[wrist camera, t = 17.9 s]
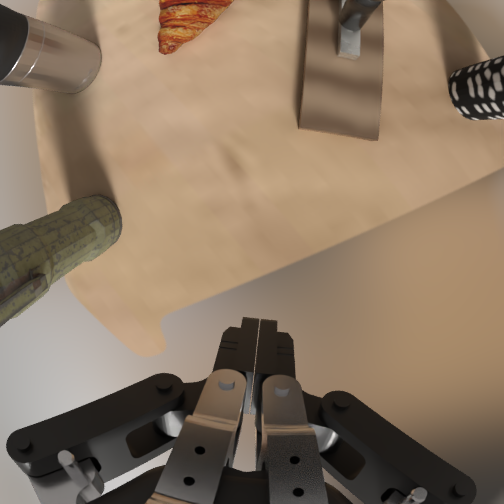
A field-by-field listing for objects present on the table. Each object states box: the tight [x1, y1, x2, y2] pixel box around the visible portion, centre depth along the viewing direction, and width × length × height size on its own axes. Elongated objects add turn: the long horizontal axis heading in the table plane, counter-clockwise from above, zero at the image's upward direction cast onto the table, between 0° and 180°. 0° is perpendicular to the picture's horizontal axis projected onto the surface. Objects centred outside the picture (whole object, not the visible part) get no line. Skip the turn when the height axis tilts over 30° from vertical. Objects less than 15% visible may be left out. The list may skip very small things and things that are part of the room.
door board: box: [298, 0, 384, 141], centre depth 29 cm, size 26×10×8 cm, turn 175°
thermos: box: [0, 195, 122, 327], centre depth 27 cm, size 9×12×35 cm
